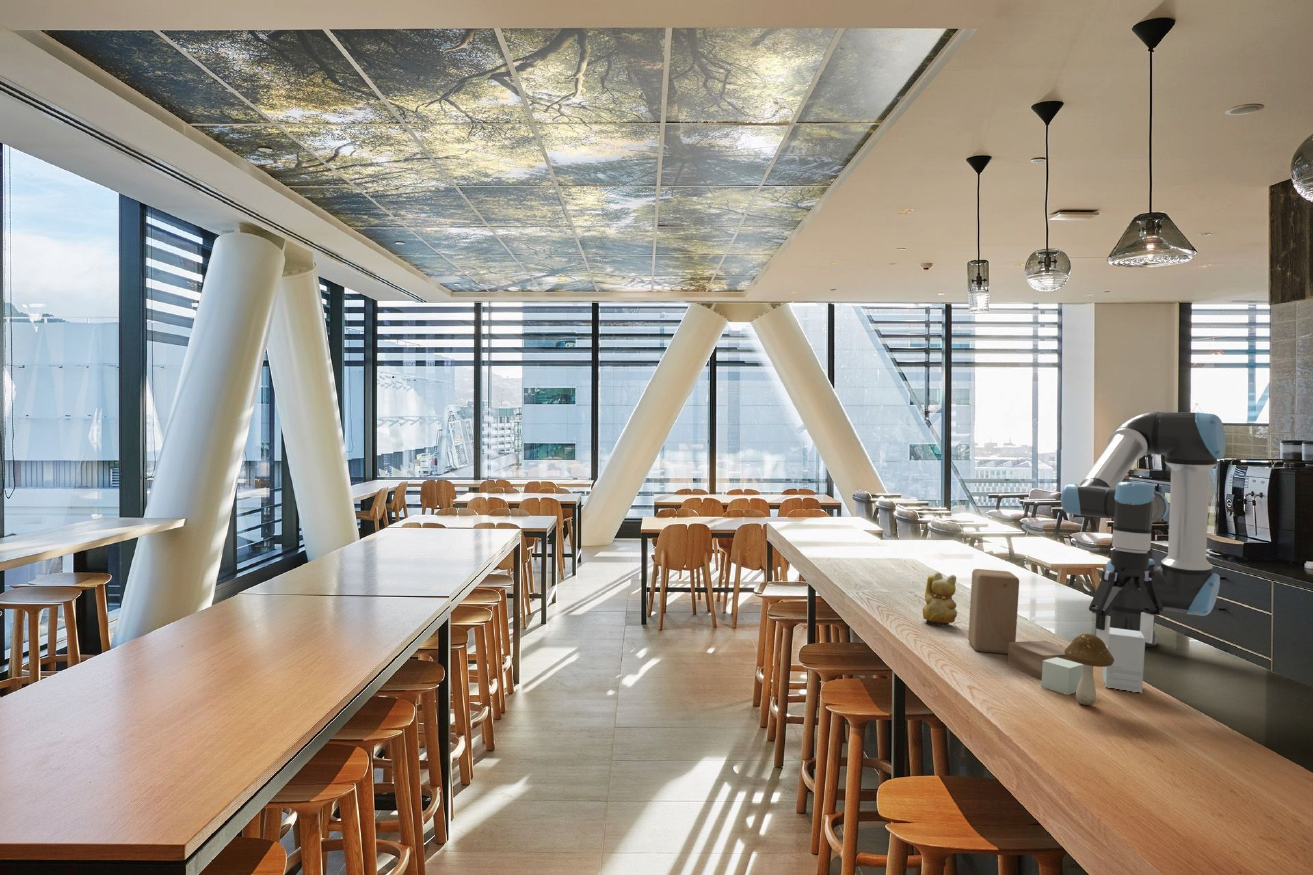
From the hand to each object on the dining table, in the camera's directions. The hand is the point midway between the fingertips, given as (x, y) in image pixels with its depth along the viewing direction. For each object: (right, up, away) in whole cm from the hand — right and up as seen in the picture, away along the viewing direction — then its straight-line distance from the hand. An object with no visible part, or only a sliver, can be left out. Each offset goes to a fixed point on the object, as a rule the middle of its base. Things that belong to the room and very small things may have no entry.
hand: (1124, 642), depth 184 cm
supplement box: (0, -10, 0) cm, 10 cm away
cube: (-16, -10, -3) cm, 19 cm away
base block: (-14, -9, +9) cm, 19 cm away
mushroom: (-16, -10, -14) cm, 24 cm away
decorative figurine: (-24, -8, +51) cm, 57 cm away
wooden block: (-19, -9, +28) cm, 35 cm away
